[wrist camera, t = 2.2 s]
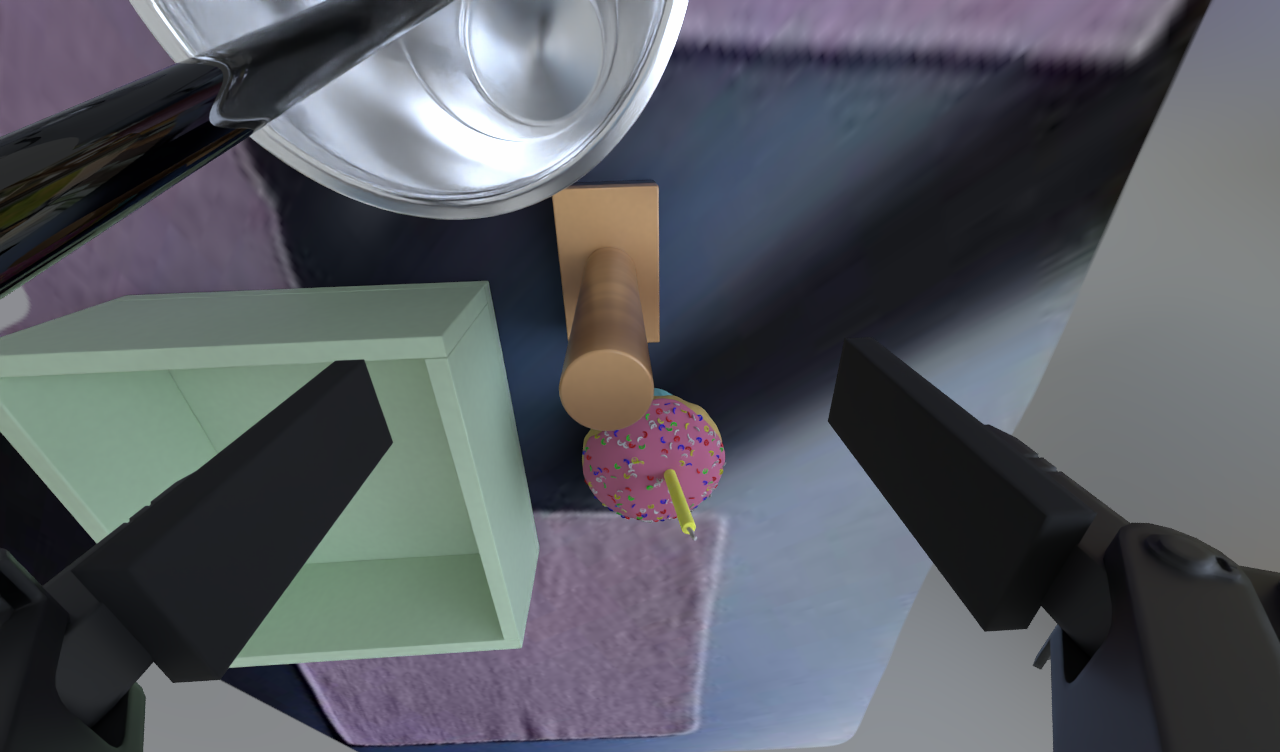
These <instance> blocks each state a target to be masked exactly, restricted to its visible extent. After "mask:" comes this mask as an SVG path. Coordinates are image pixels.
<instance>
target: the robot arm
mask: <svg viewBox="0 0 1280 752" xmlns="http://www.w3.org/2000/svg"><path fill="white" fill-rule="evenodd" d="M828 422H829V424H830V425H831V426H832V428H833V429H834V430H835V432H836V433H837V434H838V436H839V437H840V438H841V440H842V441H843V442H844V444H845V445H846V446H847V448H848V449H849V450H850V452H851V453H852V454H853V456H854V457H855V458H856V460H857V461H858V463H859V464H860V465H861V467H862V468H863V469H864V471H865V472H866V473H867V475H868V476H869V477H870V479H871V480H872V481H873V483H874V484H875V485H876V487H877V488H878V489H879V491H880V492H881V493H882V495H883V496H884V497H885V499H886V500H887V501H888V503H889V504H890V505H891V507H892V508H893V509H894V511H895V512H896V513H897V515H898V516H899V517H900V519H901V520H902V521H903V523H904V524H905V526H906V527H907V528H908V530H909V531H910V532H911V534H912V535H913V536H914V538H915V539H916V540H917V542H918V543H919V544H920V546H921V547H922V548H923V550H924V551H925V552H926V554H927V555H928V556H929V558H930V559H931V560H932V562H933V563H934V564H935V566H936V567H937V568H938V570H939V571H940V572H941V574H942V575H943V576H944V578H945V579H946V580H947V582H948V583H949V584H950V586H951V587H952V589H953V590H954V591H955V593H956V594H957V595H958V596H959V598H960V599H961V600H962V602H963V603H964V604H965V606H966V607H967V609H968V610H969V611H970V612H971V614H972V615H973V616H974V618H975V619H976V621H977V622H978V623H979V625H980V626H981V627H982V629H983V630H984V631H1000V630H1016V629H1027V628H1028V626H1029V625H1030V623H1031V621H1032V619H1033V618H1034V616H1035V615H1036V613H1037V611H1038V610H1039V608H1040V606H1042V607H1043V608H1044V609H1045V610H1046V612H1047V613H1048V614H1049V615H1050V616H1051V617H1052V618H1053V619H1054V620H1055V621H1056V623H1057V626H1056V627H1055V629H1054V630H1053V632H1052V633H1051V635H1050V636H1049V638H1048V639H1047V641H1046V642H1045V644H1044V645H1043V647H1042V648H1041V650H1040V651H1039V653H1038V655H1037V656H1036V658H1035V661H1034V664H1033V666H1035V667H1037V668H1039V669H1042V667H1043V666H1044V664H1045V663H1046V661H1047V660H1049V659H1051V682H1052V720H1053V752H1280V573H1278V572H1272V571H1266V570H1260V569H1255V568H1249V567H1244V566H1239V565H1237V564H1236V563H1235V562H1233V561H1232V560H1231V559H1229V558H1228V557H1227V556H1225V555H1224V554H1223V553H1222V552H1220V551H1219V550H1217V549H1215V548H1213V547H1211V546H1210V545H1207V544H1206V543H1204V542H1202V541H1200V540H1198V539H1197V538H1194V537H1192V536H1189V535H1186V534H1184V533H1182V532H1179V531H1176V530H1174V529H1171V528H1167V527H1163V526H1159V525H1154V524H1150V523H1129V522H1128V521H1127V520H1125V519H1124V518H1123V517H1121V516H1120V515H1118V514H1117V513H1116V512H1115V511H1113V510H1112V509H1110V508H1109V507H1108V506H1107V505H1105V504H1104V503H1103V502H1101V501H1100V500H1099V499H1097V498H1096V497H1095V496H1093V495H1092V494H1091V493H1089V492H1088V491H1087V490H1085V489H1084V488H1083V487H1081V486H1080V485H1079V484H1077V483H1076V482H1075V481H1073V480H1072V479H1071V478H1069V477H1068V476H1066V475H1065V474H1064V473H1063V472H1057V470H1056V467H1055V466H1053V465H1052V464H1051V463H1049V462H1048V461H1047V460H1045V459H1044V458H1039V457H1038V454H1037V453H1036V452H1035V451H1033V450H1032V449H1030V448H1029V447H1028V446H1027V445H1025V444H1024V443H1023V442H1021V441H1020V440H1018V439H1017V438H1015V437H1013V436H1011V435H1009V434H1007V433H1005V432H1003V431H1001V430H999V429H997V428H995V427H993V426H991V425H984V424H982V423H981V422H980V421H978V420H977V419H976V418H975V417H973V416H972V415H971V414H969V413H968V412H967V411H966V410H964V409H963V408H962V407H961V406H959V405H958V404H957V403H955V402H954V401H953V400H952V399H950V398H949V397H948V396H946V395H945V394H944V393H943V392H941V391H940V390H939V389H937V388H936V387H935V386H934V385H932V384H931V383H930V382H928V381H927V380H926V379H925V378H923V377H922V376H921V375H920V374H918V373H917V372H916V371H914V370H913V369H912V368H911V367H909V366H908V365H907V364H905V363H904V362H903V361H902V360H900V359H899V358H898V357H896V356H895V355H894V354H893V353H891V352H890V351H889V350H887V349H886V348H885V347H884V346H882V345H881V344H880V343H879V342H877V341H876V340H875V339H873V338H872V337H867V338H845V340H844V344H843V349H842V354H841V359H840V364H839V369H838V374H837V379H836V384H835V389H834V394H833V399H832V403H831V408H830V413H829V418H828ZM392 444H393V440H392V437H391V435H390V432H389V429H388V426H387V423H386V420H385V417H384V415H383V412H382V409H381V406H380V403H379V400H378V397H377V395H376V392H375V389H374V386H373V383H372V380H371V377H370V375H369V372H368V369H367V366H366V363H365V360H364V359H360V360H337V361H334V362H333V363H332V364H330V365H329V366H328V367H327V368H325V369H324V370H323V371H321V372H320V373H319V374H318V375H316V376H315V377H314V378H313V379H311V380H310V381H309V382H308V383H306V384H305V385H304V386H303V387H301V388H300V389H299V390H298V391H296V392H295V393H294V394H292V395H291V396H290V397H289V398H287V399H286V400H285V401H284V402H282V403H281V404H280V405H279V406H277V407H276V408H275V409H274V410H272V411H271V412H270V413H269V414H267V415H266V416H265V417H263V418H262V419H261V420H260V421H258V422H257V423H256V424H255V425H253V426H252V427H251V428H250V429H248V430H247V431H246V432H245V433H243V434H242V435H241V436H240V437H238V438H237V439H236V440H234V441H233V442H232V443H231V444H229V445H228V446H227V447H226V448H224V449H223V450H222V451H221V452H219V453H218V454H217V455H216V456H214V457H213V458H212V459H211V460H209V461H208V462H207V463H205V464H204V465H203V466H202V467H200V468H199V469H198V470H197V471H195V472H193V473H191V474H190V475H188V476H186V477H184V478H182V479H180V480H179V481H177V482H175V483H174V484H173V485H171V486H170V487H169V488H167V489H166V490H165V491H164V492H162V493H161V494H160V495H159V496H157V497H156V498H155V499H153V500H152V501H151V504H150V506H144V507H143V508H142V509H141V510H139V511H138V512H137V513H135V514H134V515H133V516H132V517H130V518H129V522H128V523H123V524H121V525H120V526H119V527H118V528H116V529H115V530H114V531H112V532H111V533H110V534H109V535H107V536H106V537H105V538H103V539H102V540H101V541H100V542H98V543H97V544H96V545H95V546H93V547H92V548H91V549H89V550H88V551H87V552H86V553H84V554H83V555H82V556H80V557H79V558H78V559H77V560H75V561H74V562H73V563H72V564H70V565H69V566H68V567H66V568H65V569H64V570H63V571H61V572H60V573H59V574H57V575H56V576H55V577H54V578H52V579H51V580H50V581H48V582H47V583H46V584H45V585H43V586H41V585H40V584H39V583H38V582H37V581H36V580H35V579H34V577H33V576H32V575H31V574H30V573H29V572H28V571H27V570H26V569H25V568H24V567H23V566H22V565H21V564H20V563H19V562H18V561H17V560H16V559H15V558H14V557H13V556H12V555H11V554H10V553H9V552H8V551H7V550H6V549H2V548H0V752H143V742H144V721H145V701H146V700H145V699H146V697H145V694H144V692H143V689H142V687H141V686H140V685H138V683H137V682H136V681H137V680H138V679H139V678H140V676H141V675H142V674H143V673H144V672H145V671H146V670H147V669H148V667H149V666H150V665H151V664H152V663H153V662H154V663H155V664H156V665H157V666H158V667H159V668H160V669H161V670H162V671H163V672H164V674H165V675H166V676H167V677H168V678H169V679H170V680H171V681H172V682H173V683H176V682H193V681H209V680H220V679H221V678H222V676H223V675H224V673H225V672H226V671H227V669H228V668H229V667H230V665H231V664H232V663H233V661H234V660H235V658H236V657H237V656H238V654H239V653H240V652H241V650H242V649H243V648H244V646H245V645H246V643H247V642H248V641H249V639H250V638H251V637H252V635H253V634H254V632H255V631H256V630H257V628H258V627H259V626H260V624H261V623H262V622H263V620H264V619H265V617H266V616H267V615H268V613H269V612H270V611H271V609H272V608H273V606H274V605H275V604H276V602H277V601H278V600H279V598H280V597H281V596H282V594H283V593H284V591H285V590H286V589H287V587H288V586H289V585H290V583H291V582H292V580H293V579H294V578H295V576H296V575H297V574H298V572H299V571H300V570H301V568H302V567H303V565H304V564H305V563H306V561H307V560H308V559H309V557H310V556H311V554H312V553H313V552H314V550H315V549H316V548H317V546H318V545H319V544H320V542H321V541H322V539H323V538H324V537H325V535H326V534H327V533H328V531H329V530H330V529H331V527H332V526H333V524H334V523H335V522H336V520H337V519H338V518H339V516H340V515H341V513H342V512H343V511H344V509H345V508H346V507H347V505H348V504H349V503H350V501H351V500H352V498H353V497H354V496H355V494H356V493H357V492H358V490H359V489H360V487H361V486H362V485H363V483H364V482H365V481H366V479H367V478H368V477H369V475H370V474H371V472H372V471H373V470H374V468H375V467H376V466H377V464H378V463H379V461H380V460H381V459H382V457H383V456H384V455H385V453H386V452H387V451H388V449H389V448H390V446H391V445H392Z"/></svg>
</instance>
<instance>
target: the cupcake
mask: <svg viewBox="0 0 1280 752" xmlns="http://www.w3.org/2000/svg"><path fill="white" fill-rule="evenodd" d="M582 453H583V454H582V465H583V474H584V477H585V479H586V480H585V482H586V483H587V484H588V485H589V487H590V489H591V491H592V492H593V494H594V495H595V496H594V498H597V499H598V500H599V501H601V502H602V503H603V504H602V505H604V506H606V507H608V509H609V510H610V511H613V510H614V511H615V512H617V514H619V515H621V517H622V518H626V519H630V518H634V519H637V520H641V521H643V522H645V521H646V522H648V523H652V522H653V521H655V520H657V521H655V522H658V521H659V520H660V521H665V520H664V519H668V520H670V519H671V518H673V519H675V518H677V517H678V520H679V523H680V526H681V529H682V531H683V532H684V533H685V534H690V536H691V538H692V539H693V540H697V537H696V536H695V533H694V531H695V529H696V526H695V523H694V520H693V518H692V515H691V512H693V511H694V508H696V507H697V506H698V504H700V503H701V502H702V501H703V500H705V499H706V498H707V497H708V496H709V497H710V498H711V492H712V491H713V490H715V488H716V487H717V486H718V485H717V484H718V482H719V479H720V477H721V474H722V473H723V467H724V465H725V464H726V463H725V452H724V448H723V443H722V439H721V436H720V433H719V430H718V428H717V426H716V424H715V423H714V422H713V420H712V419H711V418H710V416H709V415H708V414H707V412H706V411H705V410H704V409H703V408H702V407H700V406H698V405H695V404H692V403H689V402H686V401H684V400H682V399H681V398H679V397H677V396H673V395H672V394H670V393H668V392H667V391H664V390H662V389H658V388H654V396H653V400H652V403H651V405H650V407H649V409H648V411H647V412H646V413H645V415H644V416H643V417H642V418H641V419H640V420H638V421H637V422H636V423H634V424H632V425H630V426H628V427H626V428H623V429H619V430H614V431H599V430H594V429H591V430H590V431H589V432H588V434H587V435H586V436H585V438H584V443H583V452H582ZM611 509H612V510H611ZM691 510H692V511H691ZM623 516H624V517H623ZM627 517H628V518H627ZM629 517H630V518H629ZM674 517H675V518H674ZM649 521H651V522H649Z"/></svg>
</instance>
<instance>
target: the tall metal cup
mask: <svg viewBox="0 0 1280 752" xmlns="http://www.w3.org/2000/svg"><path fill="white" fill-rule="evenodd" d="M129 1H130V3H131V4H132V6H133V7H134V9H135V10H136V12H137V13H138V15H139V16H140V17H141V19H142V20H143V22H144V23H145V25H146V26H147V27H148V29H149V30H150V31H151V33H152V34H153V35H154V37H155V38H156V39H157V41H158V42H159V43H160V45H161V46H162V47H163V48H164V50H165V51H166V52H167V53H168V55H169V56H170V57H171V58H172V60H173V61H174V62H175V63H176V64H173V65H171V66H168V67H166V68H164V69H161V70H159V71H156V72H154V73H152V74H149V75H147V76H145V77H142V78H140V79H137V80H135V81H133V82H130V83H128V84H126V85H123V86H121V87H118V88H116V89H114V90H111V91H109V92H107V93H104V94H102V95H99V96H97V97H95V98H92V99H90V100H87V101H85V102H83V103H80V104H78V105H76V106H73V107H71V108H68V109H66V110H64V111H61V112H59V113H57V114H54V115H52V116H49V117H47V118H45V119H42V120H40V121H38V122H35V123H33V124H30V125H28V126H26V127H23V128H21V129H18V130H16V131H14V132H11V133H9V134H7V135H4V136H2V137H0V299H2V298H3V297H5V296H6V295H8V294H10V293H11V292H13V291H14V290H16V289H17V288H19V287H20V286H22V285H23V284H25V283H26V282H28V281H29V280H31V279H32V278H34V277H36V276H37V275H39V274H40V273H42V272H43V271H45V270H46V269H48V268H49V267H51V266H52V265H54V264H55V263H57V262H58V261H60V260H61V259H63V258H64V257H66V256H67V255H69V254H71V253H72V252H74V251H75V250H77V249H78V248H80V247H81V246H83V245H84V244H86V243H87V242H89V241H90V240H92V239H93V238H95V237H96V236H98V235H99V234H101V233H103V232H104V231H106V230H107V229H109V228H110V227H112V226H113V225H115V224H116V223H118V222H119V221H121V220H122V219H124V218H125V217H127V216H128V215H130V214H131V213H133V212H135V211H136V210H138V209H139V208H141V207H142V206H144V205H145V204H147V203H148V202H150V201H151V200H153V199H154V198H156V197H157V196H159V195H160V194H162V193H163V192H165V191H166V190H168V189H170V188H171V187H173V186H174V185H176V184H177V183H179V182H180V181H182V180H183V179H185V178H186V177H188V176H189V175H191V174H192V173H194V172H195V171H197V170H198V169H200V168H202V167H203V166H205V165H206V164H208V163H209V162H211V161H212V160H214V159H215V158H217V157H218V156H220V155H221V154H223V153H224V152H226V151H227V150H229V149H230V148H232V147H234V146H235V145H237V144H238V143H240V142H241V141H243V140H244V139H246V138H247V137H251V138H252V139H253V140H254V141H256V142H257V143H258V144H259V145H261V146H262V147H263V148H265V149H266V150H268V151H269V152H270V153H272V154H273V155H274V156H276V157H277V158H279V159H280V160H282V161H283V162H285V163H286V164H288V165H289V166H291V167H292V168H294V169H295V170H297V171H299V172H300V173H302V174H304V175H305V176H307V177H309V178H311V179H312V180H314V181H316V182H318V183H320V184H322V185H324V186H326V187H328V188H330V189H332V190H334V191H336V192H338V193H340V194H343V195H345V196H347V197H350V198H352V199H355V200H357V201H360V202H362V203H365V204H368V205H371V206H374V207H377V208H381V209H384V210H388V211H392V212H396V213H400V214H405V215H410V216H416V217H423V218H432V219H475V218H484V217H490V216H496V215H501V214H505V213H509V212H513V211H516V210H519V209H522V208H526V207H528V206H531V205H533V204H536V203H538V202H540V201H543V200H545V199H547V198H549V197H551V196H553V195H555V194H557V193H559V192H560V191H562V190H564V189H565V188H567V187H568V186H570V185H571V184H573V183H574V182H576V181H577V180H579V179H580V178H581V177H583V176H584V175H585V174H587V173H588V172H589V171H590V170H592V169H593V168H594V167H595V166H596V165H597V164H598V163H600V162H601V161H602V160H603V159H604V158H605V157H606V156H607V155H608V154H609V153H610V152H611V151H612V150H613V149H614V148H615V146H616V145H617V144H618V143H619V142H620V141H621V140H622V138H623V137H624V136H625V135H626V133H627V132H628V131H629V130H630V128H631V127H632V125H633V124H634V123H635V121H636V120H637V119H638V117H639V116H640V114H641V112H642V111H643V109H644V108H645V106H646V105H647V103H648V101H649V99H650V98H651V96H652V94H653V92H654V91H655V89H656V87H657V85H658V83H659V81H660V79H661V77H662V75H663V73H664V70H665V68H666V66H667V64H668V61H669V59H670V56H671V54H672V51H673V49H674V46H675V43H676V41H677V38H678V35H679V32H680V29H681V25H682V22H683V19H684V15H685V12H686V8H687V4H688V0H129Z"/></svg>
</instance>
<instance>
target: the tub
mask: <svg viewBox="0 0 1280 752" xmlns="http://www.w3.org/2000/svg"><path fill="white" fill-rule="evenodd" d="M360 359H364V360H365V363H366V366H367V369H368V372H369V375H370V377H371V380H372V383H373V386H374V389H375V392H376V395H377V397H378V400H379V403H380V406H381V409H382V412H383V415H384V417H385V420H386V423H387V426H388V429H389V432H390V435H391V437H392V440H393V444H392V445H391V446H390V448H389V449H388V451H387V452H386V453H385V455H384V456H383V457H382V459H381V460H380V461H379V463H378V464H377V466H376V467H375V468H374V470H373V471H372V472H371V474H370V475H369V477H368V478H367V479H366V481H365V482H364V483H363V485H362V486H361V487H360V489H359V490H358V492H357V493H356V494H355V496H354V497H353V498H352V500H351V501H350V503H349V504H348V505H347V507H346V508H345V509H344V511H343V512H342V513H341V515H340V516H339V518H338V519H337V520H336V522H335V523H334V524H333V526H332V527H331V529H330V530H329V531H328V533H327V534H326V535H325V537H324V538H323V539H322V541H321V542H320V544H319V545H318V546H317V548H316V549H315V550H314V552H313V553H312V554H311V556H310V557H309V559H308V560H307V561H306V563H305V564H304V565H303V567H302V568H301V570H300V571H299V572H298V574H297V575H296V576H295V578H294V579H293V580H292V582H291V583H290V585H289V586H288V587H287V589H286V590H285V591H284V593H283V594H282V596H281V597H280V598H279V600H278V601H277V602H276V604H275V605H274V606H273V608H272V609H271V611H270V612H269V613H268V615H267V616H266V617H265V619H264V620H263V622H262V623H261V624H260V626H259V627H258V628H257V630H256V631H255V632H254V634H253V635H252V637H251V638H250V639H249V641H248V642H247V643H246V645H245V646H244V648H243V649H242V650H241V652H240V653H239V654H238V656H237V657H236V658H235V660H234V661H233V663H232V664H231V665H230V667H229V668H232V667H247V666H262V665H277V664H292V663H306V662H321V661H336V660H351V659H366V658H381V657H396V656H411V655H426V654H441V653H456V652H471V651H486V650H501V649H516V648H522V644H523V638H524V633H525V627H526V622H527V616H528V610H529V605H530V599H531V594H532V588H533V582H534V577H535V571H536V566H537V560H538V554H539V543H538V538H537V533H536V528H535V522H534V517H533V512H532V507H531V501H530V496H529V491H528V486H527V480H526V475H525V470H524V465H523V459H522V454H521V449H520V444H519V438H518V433H517V428H516V423H515V417H514V412H513V407H512V402H511V397H510V391H509V386H508V381H507V376H506V370H505V365H504V360H503V355H502V349H501V344H500V339H499V334H498V328H497V323H496V318H495V313H494V307H493V302H492V297H491V292H490V286H489V282H488V281H473V282H448V283H423V284H398V285H373V286H348V287H323V288H298V289H273V290H248V291H223V292H198V293H173V294H147V295H126V296H123V297H120V298H117V299H114V300H111V301H108V302H105V303H102V304H99V305H96V306H93V307H90V308H87V309H84V310H81V311H78V312H75V313H72V314H69V315H66V316H63V317H60V318H57V319H54V320H51V321H48V322H45V323H42V324H39V325H36V326H33V327H30V328H27V329H24V330H21V331H18V332H15V333H12V334H9V335H6V336H3V337H0V432H1V433H2V434H3V435H4V436H5V438H6V439H7V440H8V441H9V442H10V443H11V444H12V446H13V447H14V448H15V449H16V450H17V451H18V453H19V454H20V455H21V456H22V457H23V458H24V460H25V461H26V462H27V463H28V464H29V465H30V467H31V468H32V469H33V470H34V471H35V472H36V474H37V475H38V476H39V477H40V478H41V479H42V480H43V482H44V483H45V484H46V485H47V486H48V487H49V489H50V490H51V491H52V492H53V493H54V494H55V496H56V497H57V498H58V499H59V500H60V501H61V503H62V504H63V505H64V506H65V507H66V508H67V510H68V511H69V512H70V513H71V514H72V515H73V516H74V518H75V519H76V520H77V521H78V522H79V523H80V525H81V526H82V527H83V528H84V529H85V530H86V532H87V533H88V534H89V535H90V536H91V537H92V539H93V540H94V541H95V542H96V543H98V542H100V541H101V540H102V539H103V538H105V537H106V536H107V535H109V534H110V533H111V532H112V531H114V530H115V529H116V528H118V527H119V526H120V525H121V524H123V523H128V522H129V518H130V517H132V516H133V515H134V514H135V513H137V512H138V511H139V510H141V509H142V508H143V507H144V506H150V504H151V501H152V500H153V499H155V498H156V497H157V496H159V495H160V494H161V493H162V492H164V491H165V490H166V489H167V488H169V487H170V486H171V485H173V484H174V483H175V482H177V481H179V480H180V479H182V478H184V477H186V476H188V475H190V474H191V473H193V472H195V471H197V470H198V469H199V468H200V467H202V466H203V465H204V464H205V463H207V462H208V461H209V460H211V459H212V458H213V457H214V456H216V455H217V454H218V453H219V452H221V451H222V450H223V449H224V448H226V447H227V446H228V445H229V444H231V443H232V442H233V441H234V440H236V439H237V438H238V437H240V436H241V435H242V434H243V433H245V432H246V431H247V430H248V429H250V428H251V427H252V426H253V425H255V424H256V423H257V422H258V421H260V420H261V419H262V418H263V417H265V416H266V415H267V414H269V413H270V412H271V411H272V410H274V409H275V408H276V407H277V406H279V405H280V404H281V403H282V402H284V401H285V400H286V399H287V398H289V397H290V396H291V395H292V394H294V393H295V392H296V391H298V390H299V389H300V388H301V387H303V386H304V385H305V384H306V383H308V382H309V381H310V380H311V379H313V378H314V377H315V376H316V375H318V374H319V373H320V372H321V371H323V370H324V369H325V368H327V367H328V366H329V365H330V364H332V363H333V362H334V361H337V360H360Z"/></svg>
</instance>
